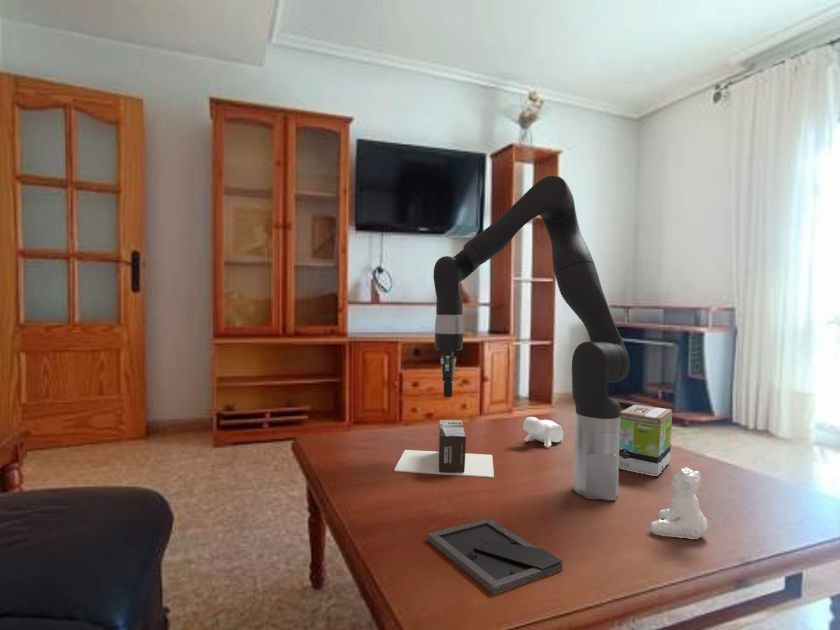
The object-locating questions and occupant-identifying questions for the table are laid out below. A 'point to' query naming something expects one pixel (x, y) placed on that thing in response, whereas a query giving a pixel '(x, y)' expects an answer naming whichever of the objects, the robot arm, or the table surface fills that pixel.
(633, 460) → the tea box
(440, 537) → the picture frame
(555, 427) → the white animal figurine
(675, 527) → the seated beast figurine
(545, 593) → the table surface
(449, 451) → the coffee box
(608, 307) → the robot arm
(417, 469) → the flat white rectangular panel
